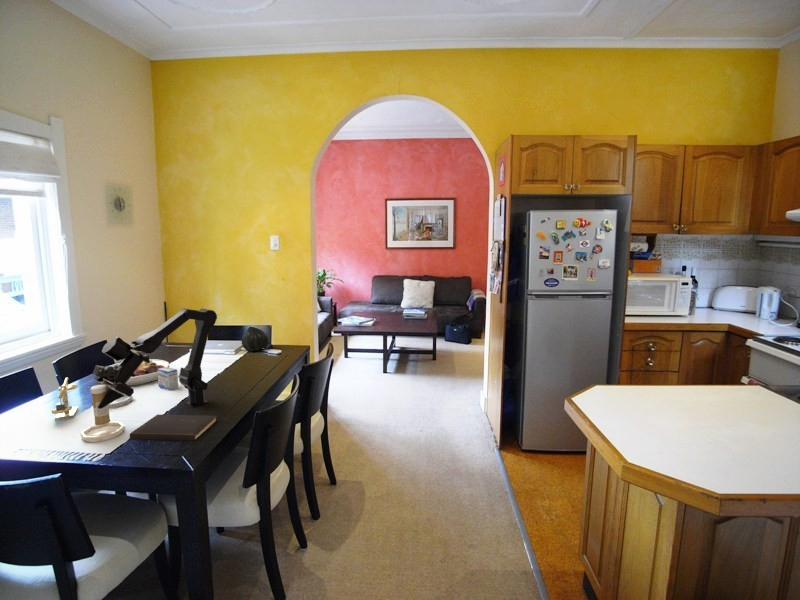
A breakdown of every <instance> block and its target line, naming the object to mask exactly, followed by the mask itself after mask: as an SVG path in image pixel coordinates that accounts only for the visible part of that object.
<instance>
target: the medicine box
mask: <svg viewBox="0 0 800 600" xmlns="http://www.w3.org/2000/svg"><path fill="white" fill-rule="evenodd" d="M178 378H179V377H178V369H175V368H172V367H169V368H168V367H164V368H160V369H158V379H157V380H158V388H159V387H160V388H159V389H163V388H164V389H165V390H167V389H168V390H169V391H172V390H175V389H177V387H178V388H179V382H178V381H179V379H178ZM174 388H175V389H174ZM171 389H172V390H171ZM168 390H167V391H168Z"/></svg>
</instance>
